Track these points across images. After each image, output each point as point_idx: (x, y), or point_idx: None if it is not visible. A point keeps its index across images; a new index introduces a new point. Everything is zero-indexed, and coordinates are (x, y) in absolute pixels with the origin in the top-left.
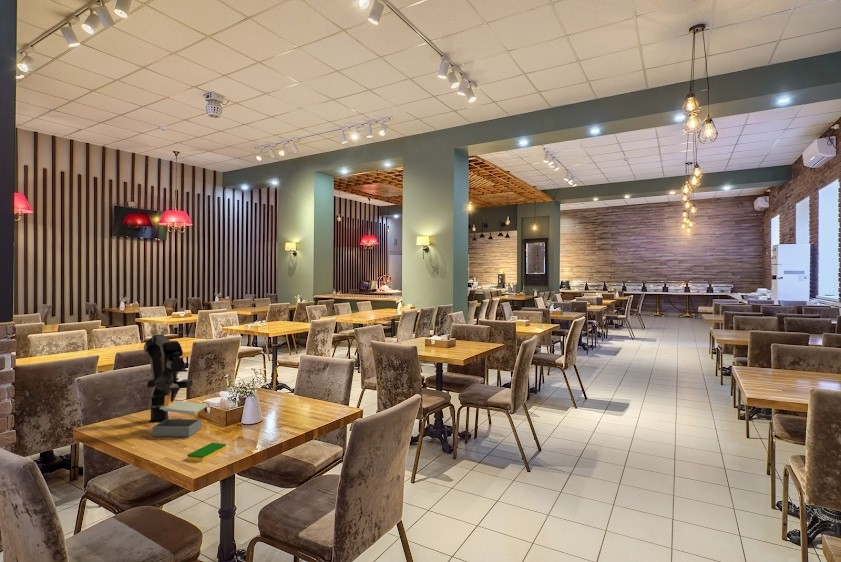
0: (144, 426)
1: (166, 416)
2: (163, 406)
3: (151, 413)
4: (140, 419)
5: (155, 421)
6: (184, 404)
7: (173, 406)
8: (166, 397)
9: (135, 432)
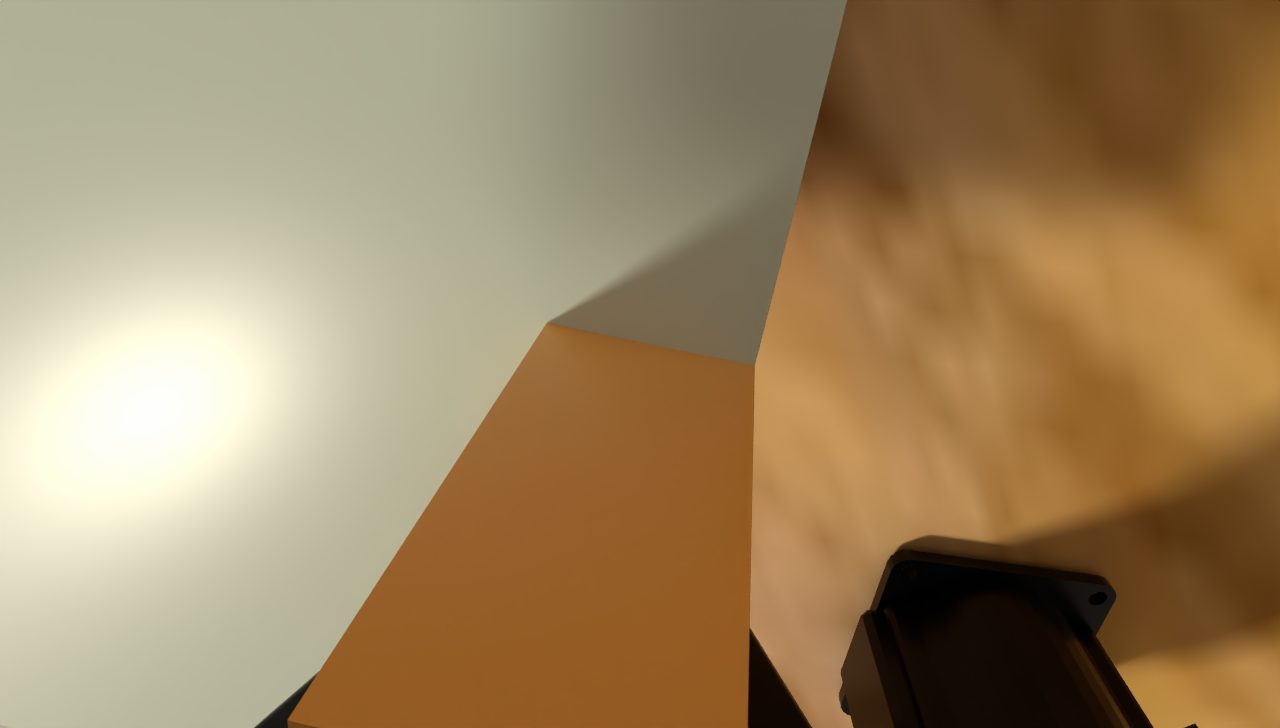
0: (1134, 373)
1: (857, 671)
2: (716, 185)
3: (1137, 718)
4: (1253, 696)
5: (997, 564)
6: (101, 552)
7: (296, 263)
8: (602, 648)
9: (1258, 9)
